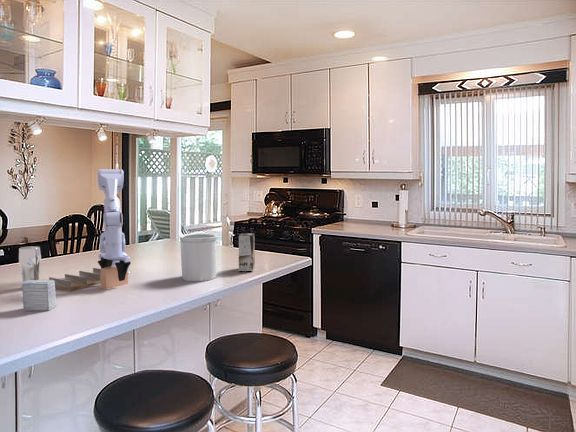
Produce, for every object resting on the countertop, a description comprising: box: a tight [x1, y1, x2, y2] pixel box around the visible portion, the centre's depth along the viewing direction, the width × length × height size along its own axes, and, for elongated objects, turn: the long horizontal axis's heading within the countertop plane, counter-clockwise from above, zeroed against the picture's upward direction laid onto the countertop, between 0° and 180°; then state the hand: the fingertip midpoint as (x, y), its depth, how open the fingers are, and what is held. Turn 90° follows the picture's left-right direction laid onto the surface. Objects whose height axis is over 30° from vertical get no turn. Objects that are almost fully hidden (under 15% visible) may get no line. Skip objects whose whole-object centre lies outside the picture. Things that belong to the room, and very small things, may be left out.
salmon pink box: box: [100, 265, 129, 290], centre depth 162 cm, size 10×3×8 cm, turn 152°
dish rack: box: [48, 267, 101, 292], centre depth 166 cm, size 20×13×4 cm, turn 152°
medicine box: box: [21, 279, 57, 312], centre depth 133 cm, size 8×4×9 cm, turn 92°
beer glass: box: [18, 245, 42, 285], centre depth 158 cm, size 7×7×15 cm
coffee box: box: [238, 232, 256, 272], centre depth 191 cm, size 9×6×16 cm
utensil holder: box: [179, 232, 218, 282], centre depth 176 cm, size 15×15×18 cm
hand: (114, 279), depth 162 cm, fingers open, 7 cm apart
